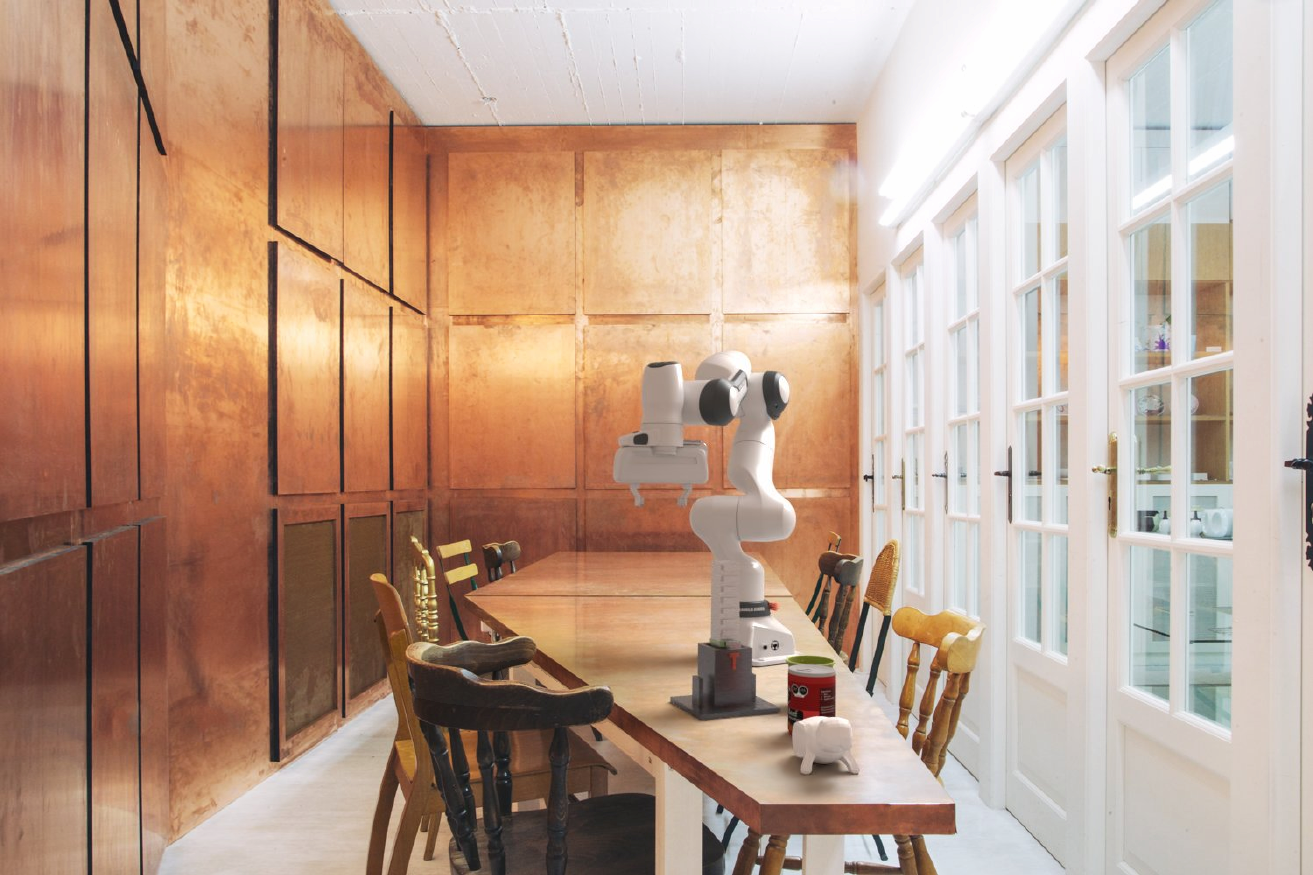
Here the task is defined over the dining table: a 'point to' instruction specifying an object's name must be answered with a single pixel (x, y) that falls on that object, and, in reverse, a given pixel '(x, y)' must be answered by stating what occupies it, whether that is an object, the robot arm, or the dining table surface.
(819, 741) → the white molar tooth
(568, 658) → the dining table surface
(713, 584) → the column
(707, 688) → the stand
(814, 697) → the canned food
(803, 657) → the plant pot
